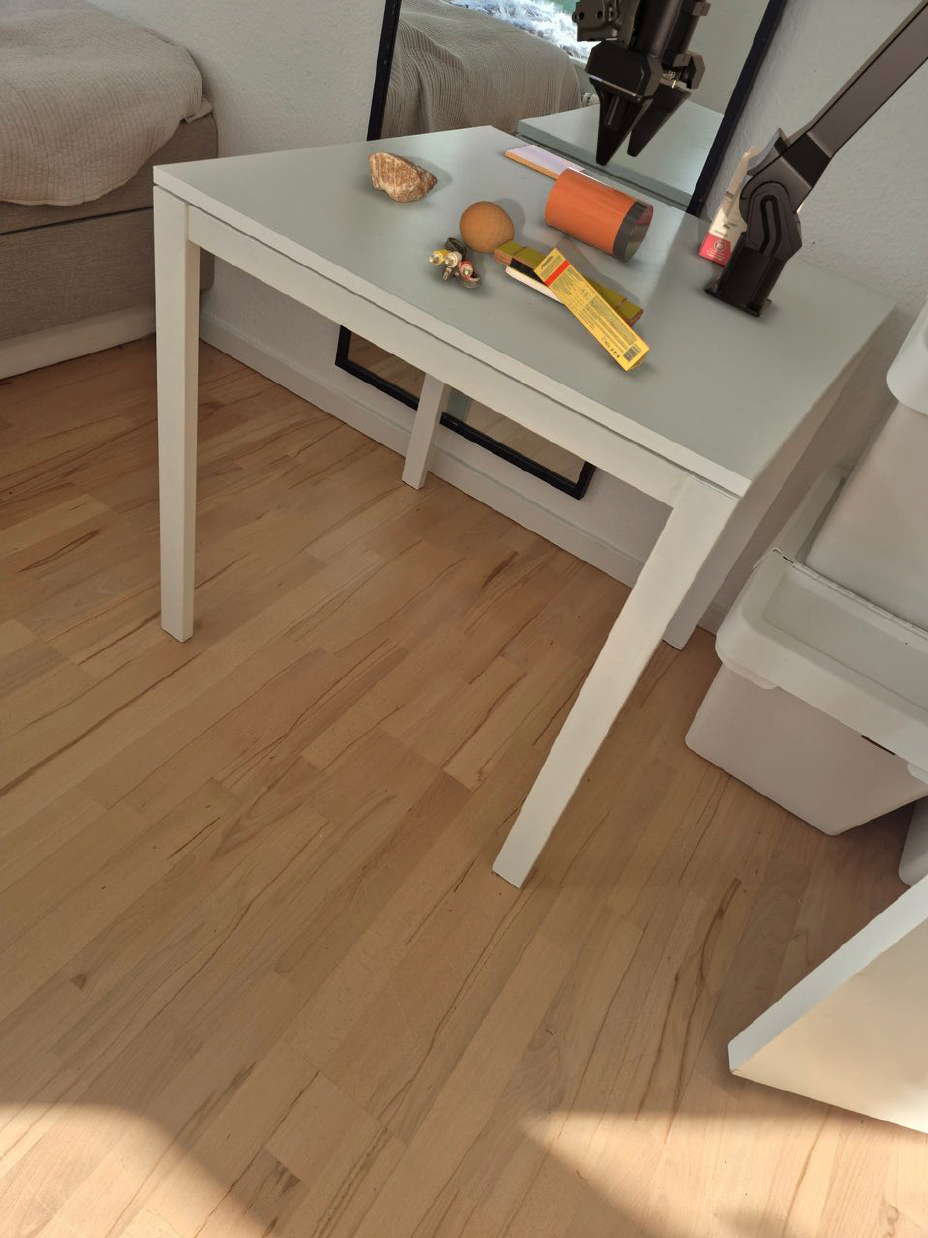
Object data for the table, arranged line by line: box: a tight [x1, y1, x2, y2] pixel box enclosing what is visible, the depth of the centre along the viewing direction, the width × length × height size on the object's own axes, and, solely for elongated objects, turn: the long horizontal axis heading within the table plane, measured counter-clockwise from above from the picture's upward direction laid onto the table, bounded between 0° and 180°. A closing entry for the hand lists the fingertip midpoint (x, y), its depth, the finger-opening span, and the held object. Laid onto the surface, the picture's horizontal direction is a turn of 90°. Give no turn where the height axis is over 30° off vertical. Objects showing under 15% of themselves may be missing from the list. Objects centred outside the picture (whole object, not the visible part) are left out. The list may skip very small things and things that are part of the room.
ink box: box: [698, 144, 807, 267], centre depth 97 cm, size 9×5×12 cm, turn 68°
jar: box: [544, 167, 654, 263], centre depth 89 cm, size 10×6×6 cm, turn 59°
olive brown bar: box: [492, 240, 645, 329], centre depth 76 cm, size 15×3×2 cm, turn 60°
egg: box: [459, 200, 516, 254], centre depth 79 cm, size 4×4×6 cm
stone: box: [367, 151, 439, 203], centre depth 84 cm, size 7×6×5 cm
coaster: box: [504, 144, 587, 181], centre depth 110 cm, size 8×8×1 cm
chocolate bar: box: [534, 247, 651, 372], centre depth 71 cm, size 3×12×2 cm
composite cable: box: [428, 236, 481, 289], centre depth 75 cm, size 10×5×2 cm, turn 169°
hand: (616, 159), depth 86 cm, fingers open, 9 cm apart
